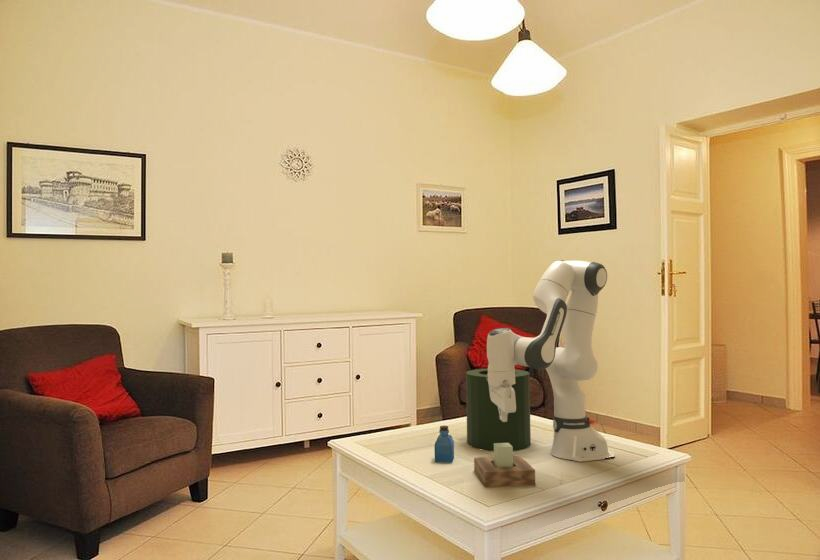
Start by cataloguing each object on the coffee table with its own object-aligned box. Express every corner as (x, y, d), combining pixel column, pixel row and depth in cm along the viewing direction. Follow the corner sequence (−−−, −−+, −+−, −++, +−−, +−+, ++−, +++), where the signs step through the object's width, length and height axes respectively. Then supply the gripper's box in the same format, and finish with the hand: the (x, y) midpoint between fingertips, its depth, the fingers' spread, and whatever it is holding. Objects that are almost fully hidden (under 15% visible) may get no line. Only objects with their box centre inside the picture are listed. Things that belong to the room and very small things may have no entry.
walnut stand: (520, 468, 194) (520, 455, 194) (535, 484, 178) (535, 470, 178) (474, 470, 192) (474, 457, 192) (485, 487, 176) (484, 472, 176)
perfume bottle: (451, 462, 202) (451, 428, 202) (434, 462, 203) (434, 428, 203) (454, 457, 208) (453, 424, 208) (437, 457, 209) (436, 424, 209)
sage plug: (509, 470, 188) (508, 442, 188) (513, 474, 183) (512, 446, 183) (494, 470, 187) (493, 443, 187) (497, 475, 182) (497, 447, 182)
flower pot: (543, 442, 227) (541, 372, 228) (505, 455, 210) (504, 379, 210) (492, 431, 245) (491, 366, 246) (454, 443, 228) (453, 373, 228)
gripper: (520, 383, 176) (522, 427, 176) (503, 373, 196) (505, 413, 196) (500, 384, 175) (502, 429, 175) (485, 374, 195) (487, 414, 195)
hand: (503, 420), depth 186 cm, fingers closed
